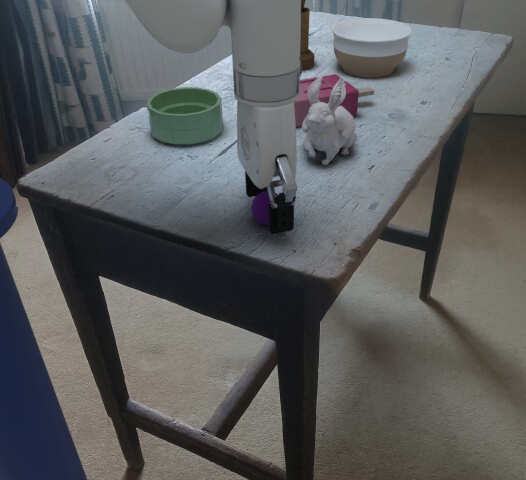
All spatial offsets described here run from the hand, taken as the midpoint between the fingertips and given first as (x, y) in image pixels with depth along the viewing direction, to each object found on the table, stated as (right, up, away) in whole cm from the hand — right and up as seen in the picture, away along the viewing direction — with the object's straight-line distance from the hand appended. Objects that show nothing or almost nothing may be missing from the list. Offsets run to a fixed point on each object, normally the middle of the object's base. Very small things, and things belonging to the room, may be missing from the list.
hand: (268, 212), depth 78 cm
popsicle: (+10, +23, +29) cm, 38 cm away
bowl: (+21, +37, +47) cm, 63 cm away
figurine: (+10, +12, +17) cm, 23 cm away
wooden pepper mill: (+7, +39, +49) cm, 63 cm away
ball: (0, +1, 0) cm, 1 cm away
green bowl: (-14, +17, +24) cm, 32 cm away
